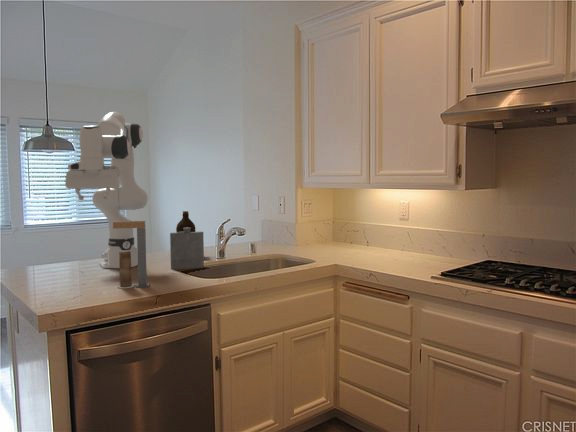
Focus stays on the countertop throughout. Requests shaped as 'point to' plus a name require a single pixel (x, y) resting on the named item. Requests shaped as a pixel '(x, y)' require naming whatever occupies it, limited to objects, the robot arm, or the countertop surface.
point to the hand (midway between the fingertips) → (93, 199)
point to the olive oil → (185, 223)
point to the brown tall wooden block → (125, 268)
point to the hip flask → (187, 249)
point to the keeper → (140, 249)
